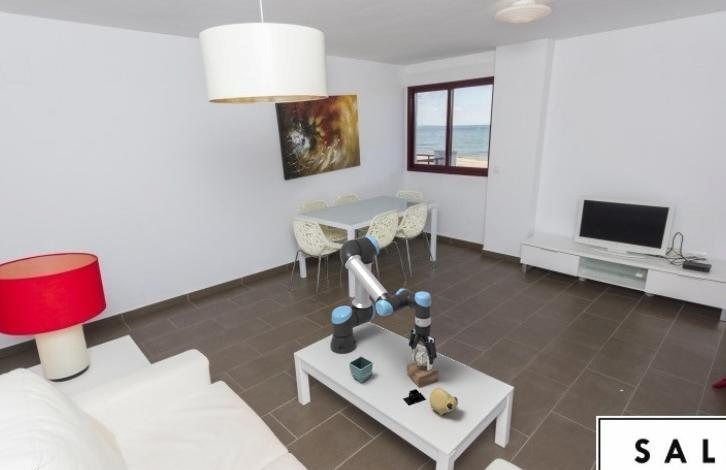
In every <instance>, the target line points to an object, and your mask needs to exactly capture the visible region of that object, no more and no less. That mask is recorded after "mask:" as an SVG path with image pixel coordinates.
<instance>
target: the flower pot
mask: <svg viewBox="0 0 726 470" xmlns="http://www.w3.org/2000/svg"><path fill="white" fill-rule="evenodd" d="M348 364H349V370H350V374H351V376H353V378H354V379H356V380H357V381H359V382H360V383H363V382H364V381H366V380H368V379H369V378H370V376H371V374H372V371H373V365H374V361H372V360H369V359H368V358H366V357H364V356H362V355H361V356H359V357H357V358H355V359H353V360H351V361H350V362H348Z"/></svg>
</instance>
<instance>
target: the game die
mask: <svg viewBox="0 0 726 470" xmlns="http://www.w3.org/2000/svg"><path fill="white" fill-rule="evenodd" d="M413 358H415V359H414V360H415V361H414V362H415V363H417V365H418V366H427V362H428V358H429V356H428V353H427V351H426V350H423V351H422V350H417V353H416V356H415V357H413V356H412V359H413ZM418 366H417V367H418Z"/></svg>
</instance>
